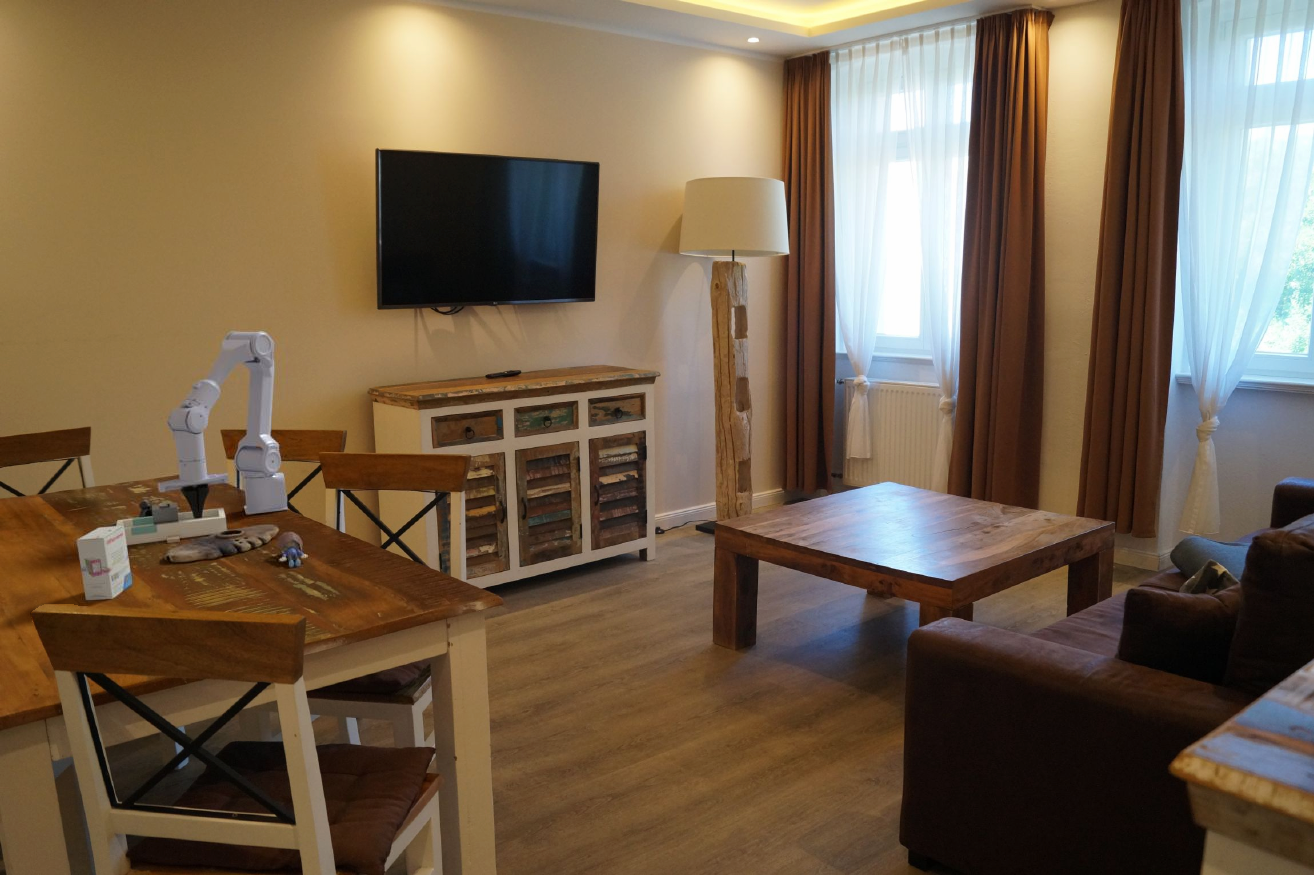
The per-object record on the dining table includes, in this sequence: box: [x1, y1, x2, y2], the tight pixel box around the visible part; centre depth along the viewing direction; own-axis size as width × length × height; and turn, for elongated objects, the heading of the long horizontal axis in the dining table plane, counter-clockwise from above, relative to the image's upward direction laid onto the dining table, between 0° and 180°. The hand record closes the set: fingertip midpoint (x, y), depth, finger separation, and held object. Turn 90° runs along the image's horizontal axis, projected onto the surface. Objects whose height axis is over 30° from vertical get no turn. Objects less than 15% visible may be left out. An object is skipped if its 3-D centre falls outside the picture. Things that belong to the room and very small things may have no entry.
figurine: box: [277, 531, 309, 568], centre depth 199 cm, size 6×5×12 cm
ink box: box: [76, 526, 133, 601], centre depth 180 cm, size 9×5×12 cm, turn 5°
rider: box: [152, 501, 179, 525], centre depth 219 cm, size 5×5×5 cm
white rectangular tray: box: [116, 507, 228, 546], centre depth 218 cm, size 22×13×4 cm, turn 117°
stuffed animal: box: [109, 499, 153, 527], centre depth 229 cm, size 12×10×12 cm
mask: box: [164, 524, 280, 563], centre depth 208 cm, size 15×4×25 cm
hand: (197, 517), depth 222 cm, fingers closed
